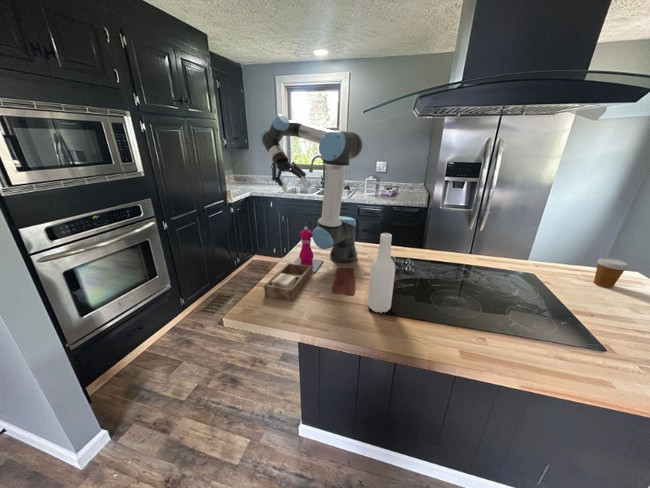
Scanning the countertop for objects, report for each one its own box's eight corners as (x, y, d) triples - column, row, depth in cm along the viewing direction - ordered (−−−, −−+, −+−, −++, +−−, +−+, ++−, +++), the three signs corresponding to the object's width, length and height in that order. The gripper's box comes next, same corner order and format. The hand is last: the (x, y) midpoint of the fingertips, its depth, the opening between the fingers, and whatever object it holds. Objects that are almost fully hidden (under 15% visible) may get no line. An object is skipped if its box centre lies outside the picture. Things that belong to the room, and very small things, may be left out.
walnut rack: (311, 275, 127) (311, 265, 125) (292, 301, 106) (292, 290, 104) (288, 271, 131) (287, 262, 129) (265, 296, 109) (264, 285, 108)
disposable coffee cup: (596, 288, 119) (607, 264, 114) (584, 278, 127) (593, 255, 123) (623, 291, 116) (635, 267, 112) (608, 281, 124) (619, 258, 120)
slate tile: (323, 261, 142) (323, 260, 141) (315, 273, 129) (315, 271, 129) (299, 258, 145) (299, 256, 145) (288, 269, 133) (288, 267, 132)
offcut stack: (298, 288, 116) (298, 275, 114) (290, 298, 108) (289, 285, 106) (280, 284, 118) (279, 273, 116) (270, 295, 110) (270, 282, 108)
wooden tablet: (355, 297, 111) (355, 294, 110) (331, 295, 112) (331, 292, 111) (355, 269, 135) (356, 266, 135) (336, 267, 136) (336, 264, 136)
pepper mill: (304, 267, 132) (303, 230, 125) (297, 262, 138) (295, 226, 130) (316, 264, 136) (316, 227, 129) (308, 259, 142) (308, 223, 134)
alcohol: (363, 305, 104) (368, 233, 93) (377, 298, 109) (384, 229, 98) (380, 316, 98) (388, 240, 87) (395, 307, 103) (404, 235, 92)
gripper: (294, 160, 149) (312, 190, 144) (255, 162, 133) (273, 196, 128) (300, 151, 144) (318, 182, 139) (259, 151, 128) (278, 186, 123)
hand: (296, 189), depth 134 cm, fingers open, 13 cm apart
